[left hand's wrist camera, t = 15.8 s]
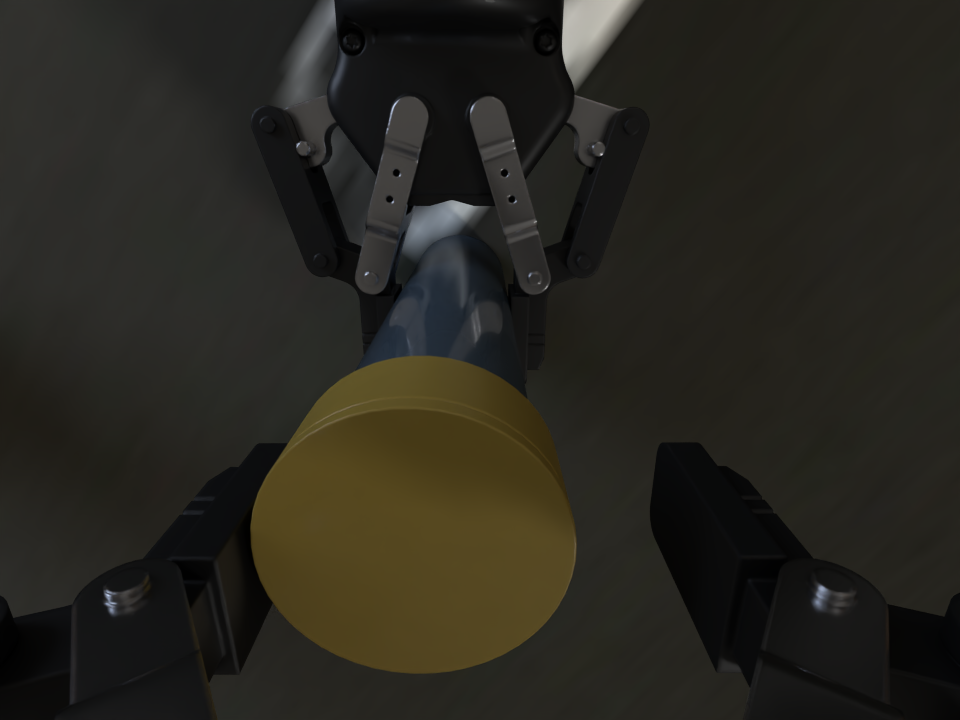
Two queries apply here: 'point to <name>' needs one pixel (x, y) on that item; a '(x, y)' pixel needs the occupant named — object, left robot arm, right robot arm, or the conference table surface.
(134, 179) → the conference table surface
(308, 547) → the lid
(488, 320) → the dark blue cylinder
